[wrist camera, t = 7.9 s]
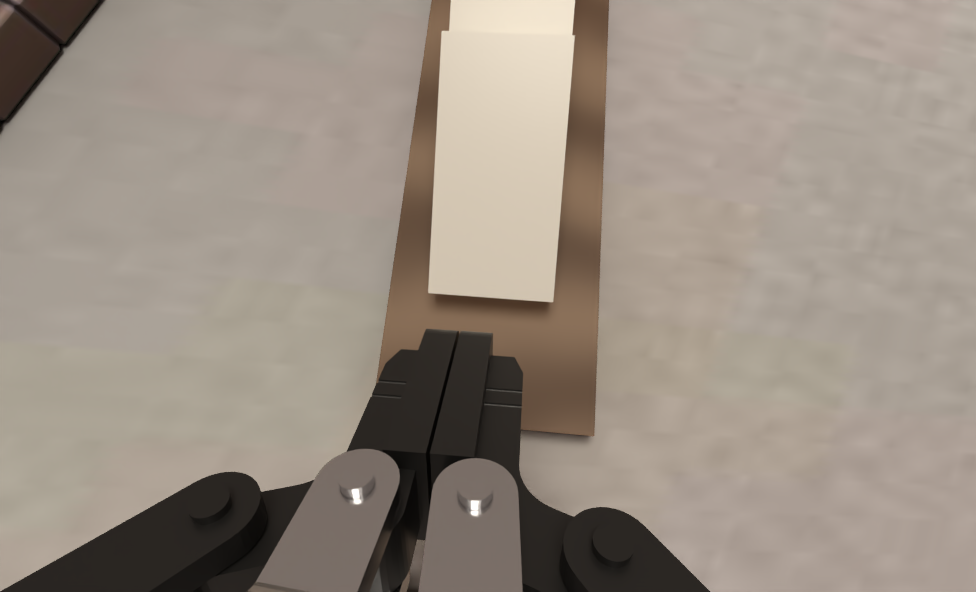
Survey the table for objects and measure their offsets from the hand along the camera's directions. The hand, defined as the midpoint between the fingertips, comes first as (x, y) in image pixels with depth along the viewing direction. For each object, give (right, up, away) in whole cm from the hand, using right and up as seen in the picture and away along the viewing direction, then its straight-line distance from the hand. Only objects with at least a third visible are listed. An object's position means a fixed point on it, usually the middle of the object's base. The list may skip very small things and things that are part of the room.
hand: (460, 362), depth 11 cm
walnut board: (+2, +9, +13) cm, 16 cm away
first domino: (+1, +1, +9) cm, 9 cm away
